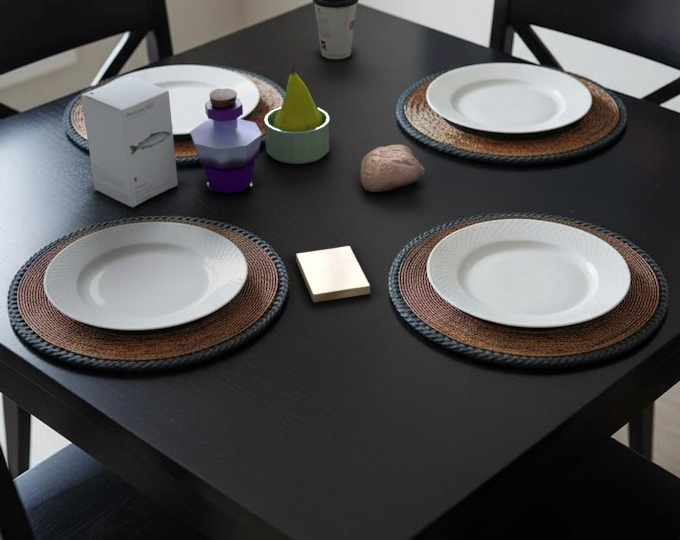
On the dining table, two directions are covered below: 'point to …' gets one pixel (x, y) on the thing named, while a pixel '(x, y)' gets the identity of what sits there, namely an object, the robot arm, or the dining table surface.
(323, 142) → the bowl
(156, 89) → the white packaging box
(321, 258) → the board
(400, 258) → the dining table surface
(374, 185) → the brown rounded lump
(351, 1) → the coffee cup
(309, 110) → the fruit
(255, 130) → the potion bottle
